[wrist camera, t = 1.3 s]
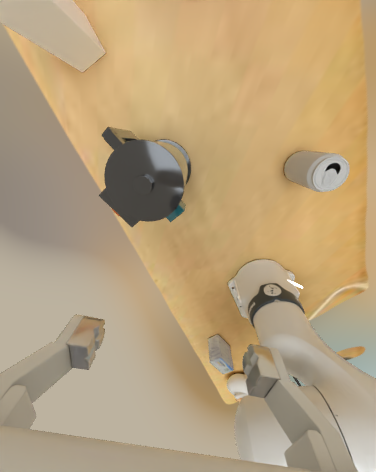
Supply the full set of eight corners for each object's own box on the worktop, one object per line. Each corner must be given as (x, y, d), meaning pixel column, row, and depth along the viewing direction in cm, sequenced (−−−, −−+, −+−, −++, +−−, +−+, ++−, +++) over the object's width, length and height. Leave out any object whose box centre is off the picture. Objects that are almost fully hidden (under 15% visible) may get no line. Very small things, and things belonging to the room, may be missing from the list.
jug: (163, 209, 48) (141, 249, 30) (115, 158, 44) (56, 169, 25) (204, 174, 44) (207, 196, 26) (156, 114, 39) (120, 89, 21)
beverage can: (318, 154, 41) (361, 158, 30) (304, 184, 44) (338, 197, 33) (290, 147, 41) (323, 149, 30) (277, 177, 44) (303, 189, 33)
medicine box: (207, 338, 69) (209, 362, 61) (218, 333, 67) (220, 358, 60) (220, 349, 71) (222, 375, 64) (230, 345, 70) (234, 370, 62)
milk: (61, 36, 35) (-123, -105, 15) (85, 14, 33) (-82, -178, 14) (83, 73, 37) (-52, -8, 17) (107, 53, 36) (-10, -61, 16)
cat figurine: (227, 406, 71) (270, 409, 67) (224, 383, 71) (266, 385, 68) (228, 387, 80) (267, 390, 76) (226, 367, 81) (263, 368, 77)
